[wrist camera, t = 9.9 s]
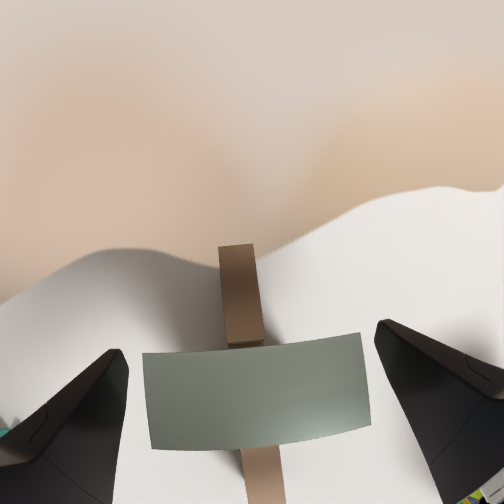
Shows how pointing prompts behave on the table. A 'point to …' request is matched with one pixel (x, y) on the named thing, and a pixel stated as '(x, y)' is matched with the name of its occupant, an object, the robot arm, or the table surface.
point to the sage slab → (256, 394)
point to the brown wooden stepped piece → (249, 336)
